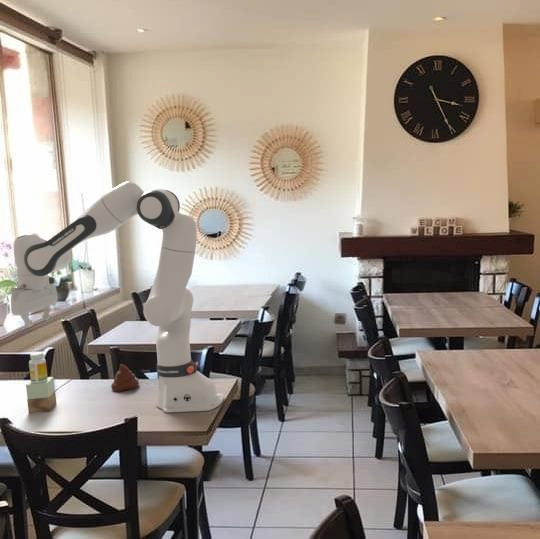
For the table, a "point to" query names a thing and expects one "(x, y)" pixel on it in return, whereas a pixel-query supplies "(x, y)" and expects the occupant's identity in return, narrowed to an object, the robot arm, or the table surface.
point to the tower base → (42, 404)
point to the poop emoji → (124, 379)
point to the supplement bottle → (37, 368)
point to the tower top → (40, 389)
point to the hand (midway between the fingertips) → (37, 322)
